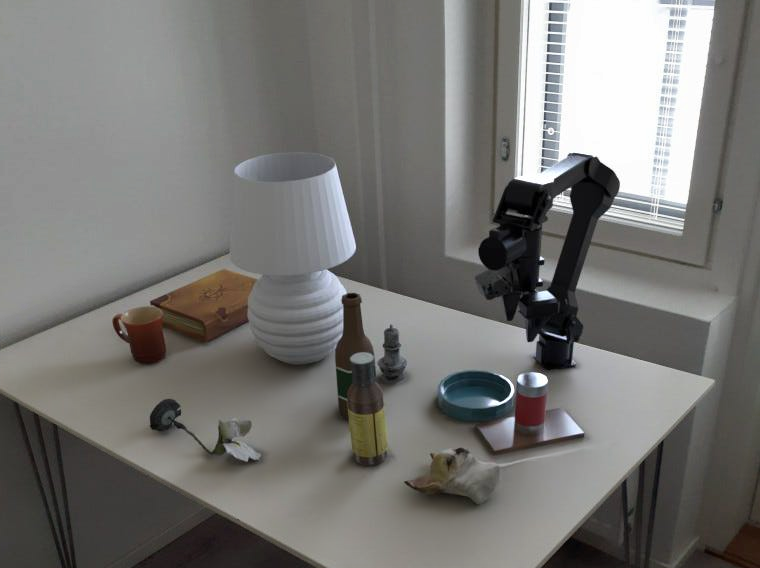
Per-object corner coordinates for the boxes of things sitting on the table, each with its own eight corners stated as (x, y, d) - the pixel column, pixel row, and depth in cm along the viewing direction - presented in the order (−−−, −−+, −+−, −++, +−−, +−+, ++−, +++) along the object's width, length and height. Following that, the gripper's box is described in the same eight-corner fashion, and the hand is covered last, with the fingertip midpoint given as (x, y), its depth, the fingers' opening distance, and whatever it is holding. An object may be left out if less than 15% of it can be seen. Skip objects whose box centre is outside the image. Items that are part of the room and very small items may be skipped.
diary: (208, 345, 190) (204, 321, 187) (154, 323, 201) (149, 301, 197) (280, 307, 205) (278, 284, 202) (226, 289, 215) (223, 268, 212)
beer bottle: (383, 403, 166) (379, 288, 153) (371, 425, 159) (365, 307, 147) (345, 398, 168) (338, 284, 155) (331, 419, 162) (322, 302, 149)
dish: (495, 378, 171) (496, 364, 170) (525, 415, 160) (526, 400, 158) (427, 391, 169) (427, 377, 167) (453, 429, 157) (453, 414, 155)
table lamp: (385, 345, 186) (378, 159, 165) (305, 395, 170) (286, 196, 149) (300, 316, 200) (283, 141, 179) (218, 359, 184) (190, 173, 163)
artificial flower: (183, 422, 166) (190, 375, 162) (263, 476, 154) (273, 427, 150) (145, 432, 159) (152, 383, 155) (226, 489, 147) (235, 438, 143)
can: (536, 418, 157) (539, 370, 151) (549, 433, 152) (553, 384, 147) (509, 423, 156) (511, 375, 150) (521, 438, 151) (524, 389, 146)
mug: (178, 351, 188) (170, 308, 183) (156, 370, 181) (147, 326, 176) (132, 344, 192) (123, 302, 187) (109, 362, 185) (99, 319, 180)
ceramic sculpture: (485, 476, 130) (399, 454, 137) (486, 522, 134) (402, 498, 141) (513, 441, 137) (430, 422, 145) (514, 486, 141) (433, 465, 149)
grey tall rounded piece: (405, 386, 171) (403, 331, 164) (375, 384, 172) (373, 330, 166) (409, 371, 176) (408, 318, 169) (381, 369, 177) (378, 317, 170)
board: (560, 412, 160) (561, 407, 159) (584, 438, 152) (584, 432, 152) (474, 429, 157) (475, 423, 156) (494, 456, 149) (494, 450, 148)
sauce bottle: (379, 443, 154) (375, 344, 144) (393, 461, 149) (389, 360, 139) (345, 452, 152) (339, 352, 142) (358, 471, 147) (352, 369, 137)
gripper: (462, 240, 158) (460, 317, 166) (502, 278, 143) (499, 361, 151) (518, 231, 160) (514, 308, 169) (564, 268, 145) (557, 350, 153)
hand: (519, 330), depth 160 cm, fingers open, 9 cm apart
